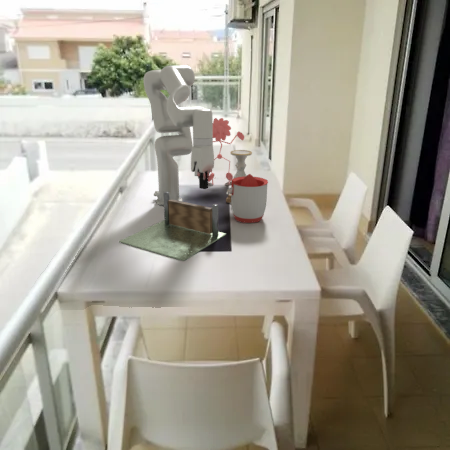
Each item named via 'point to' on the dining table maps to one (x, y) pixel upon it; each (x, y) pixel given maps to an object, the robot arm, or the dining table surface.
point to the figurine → (220, 133)
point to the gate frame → (174, 236)
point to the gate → (190, 216)
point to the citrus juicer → (248, 198)
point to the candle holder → (239, 165)
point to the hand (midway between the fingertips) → (203, 188)
